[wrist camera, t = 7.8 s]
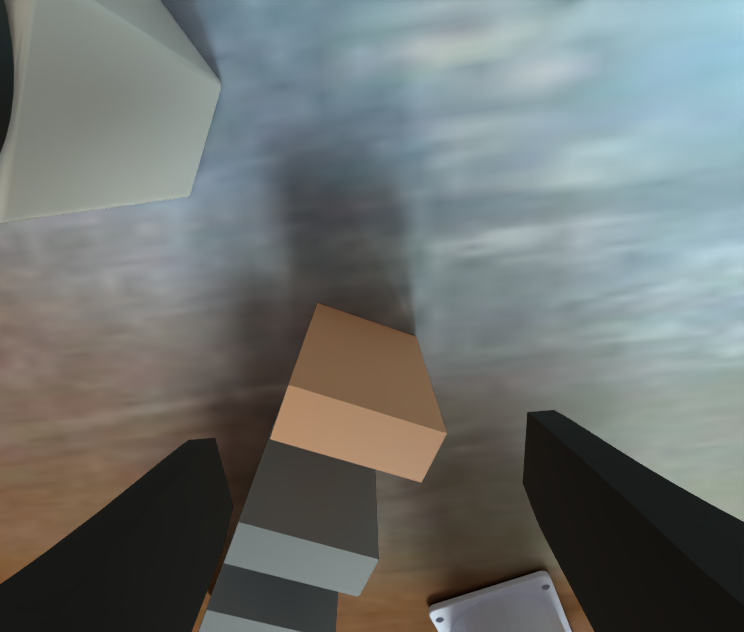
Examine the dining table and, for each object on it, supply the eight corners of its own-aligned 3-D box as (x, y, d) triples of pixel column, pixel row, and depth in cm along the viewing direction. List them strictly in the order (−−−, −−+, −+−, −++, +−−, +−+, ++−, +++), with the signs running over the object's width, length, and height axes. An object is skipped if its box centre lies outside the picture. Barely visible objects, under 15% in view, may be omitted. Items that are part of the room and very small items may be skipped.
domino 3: (258, 465, 21) (206, 610, 14) (344, 491, 22) (334, 639, 15) (248, 492, 22) (194, 643, 15) (332, 516, 23) (318, 670, 16)
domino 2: (282, 399, 20) (238, 522, 13) (373, 428, 21) (378, 559, 14) (271, 430, 21) (223, 563, 14) (360, 456, 21) (358, 596, 14)
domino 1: (317, 302, 18) (288, 384, 11) (416, 336, 19) (447, 433, 12) (304, 339, 19) (269, 439, 12) (400, 371, 20) (421, 482, 13)
